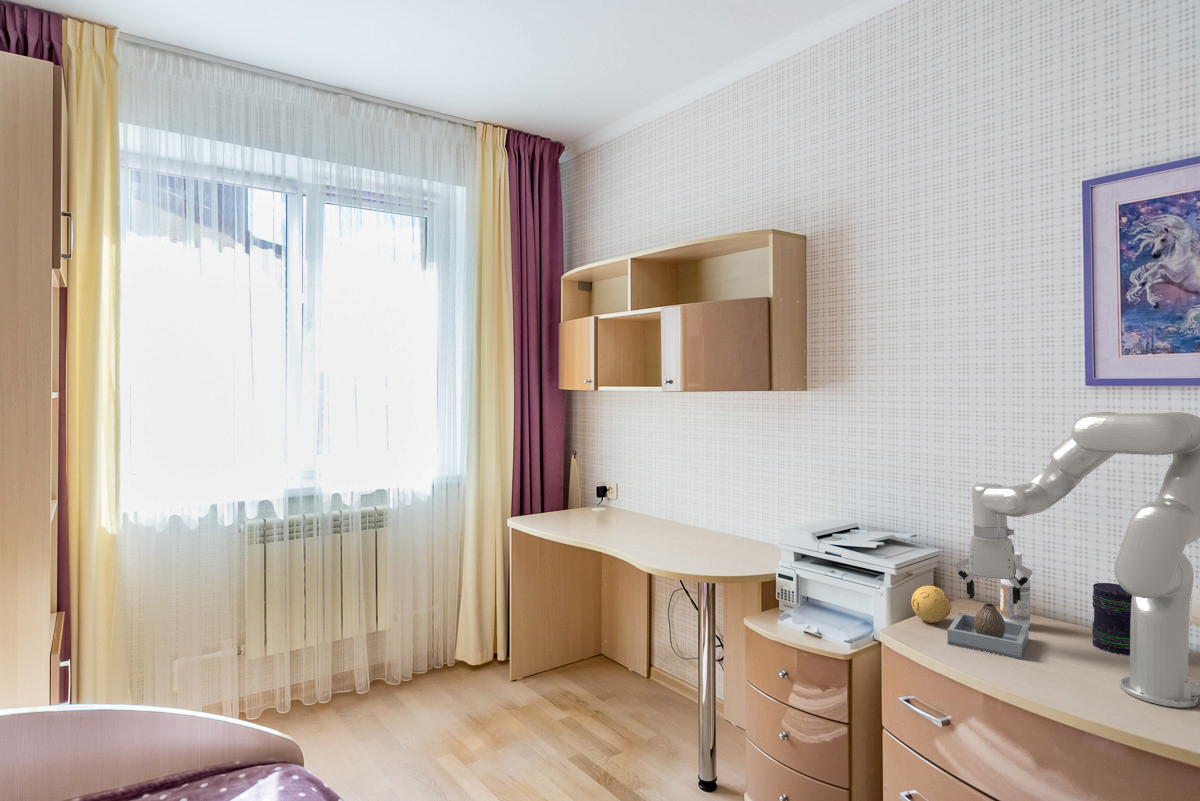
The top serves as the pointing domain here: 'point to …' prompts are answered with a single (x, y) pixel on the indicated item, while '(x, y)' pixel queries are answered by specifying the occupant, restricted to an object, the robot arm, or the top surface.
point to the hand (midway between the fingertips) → (993, 600)
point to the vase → (989, 622)
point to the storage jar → (1111, 618)
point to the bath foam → (1007, 607)
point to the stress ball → (931, 604)
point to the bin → (988, 637)
